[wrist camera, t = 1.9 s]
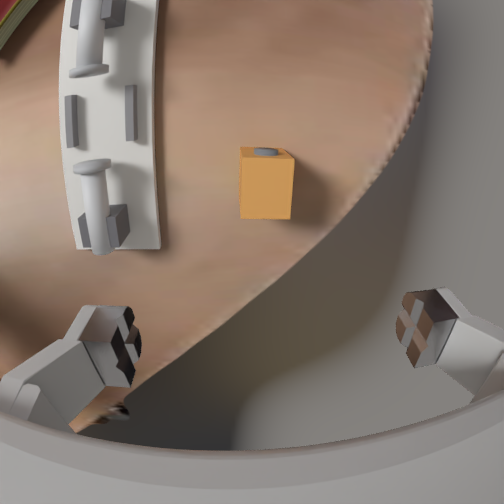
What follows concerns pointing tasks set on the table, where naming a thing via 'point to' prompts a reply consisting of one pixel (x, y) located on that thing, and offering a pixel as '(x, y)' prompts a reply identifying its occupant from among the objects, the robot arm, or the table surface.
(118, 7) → the shaft rig
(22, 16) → the hardcover book
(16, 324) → the table surface
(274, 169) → the block
